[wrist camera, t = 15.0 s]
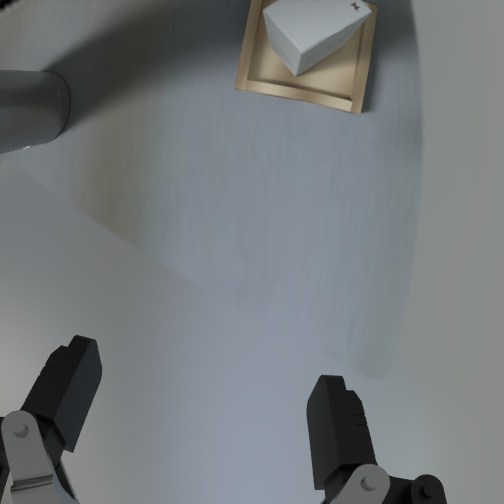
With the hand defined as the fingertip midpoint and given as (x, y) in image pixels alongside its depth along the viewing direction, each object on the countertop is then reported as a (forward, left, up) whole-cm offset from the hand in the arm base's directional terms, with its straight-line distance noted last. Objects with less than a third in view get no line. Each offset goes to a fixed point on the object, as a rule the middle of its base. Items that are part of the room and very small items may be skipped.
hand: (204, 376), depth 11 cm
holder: (+2, +17, -25) cm, 30 cm away
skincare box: (+2, +17, -25) cm, 30 cm away
